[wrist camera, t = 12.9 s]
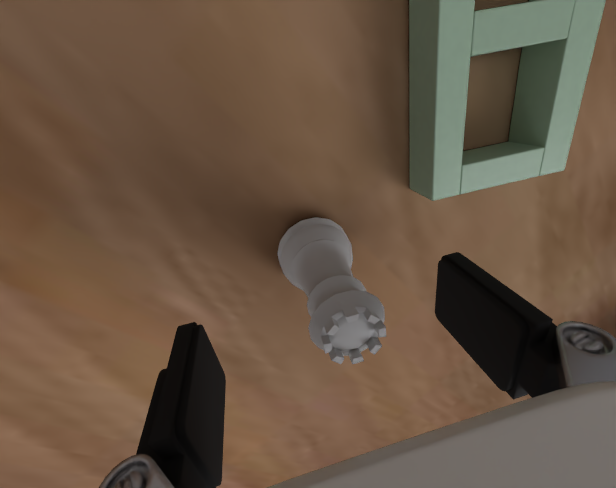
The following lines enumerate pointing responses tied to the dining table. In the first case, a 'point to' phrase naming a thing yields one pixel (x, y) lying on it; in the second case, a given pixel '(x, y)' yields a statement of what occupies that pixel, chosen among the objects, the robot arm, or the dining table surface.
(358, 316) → the rook chess piece
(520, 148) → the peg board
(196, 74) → the dining table surface
